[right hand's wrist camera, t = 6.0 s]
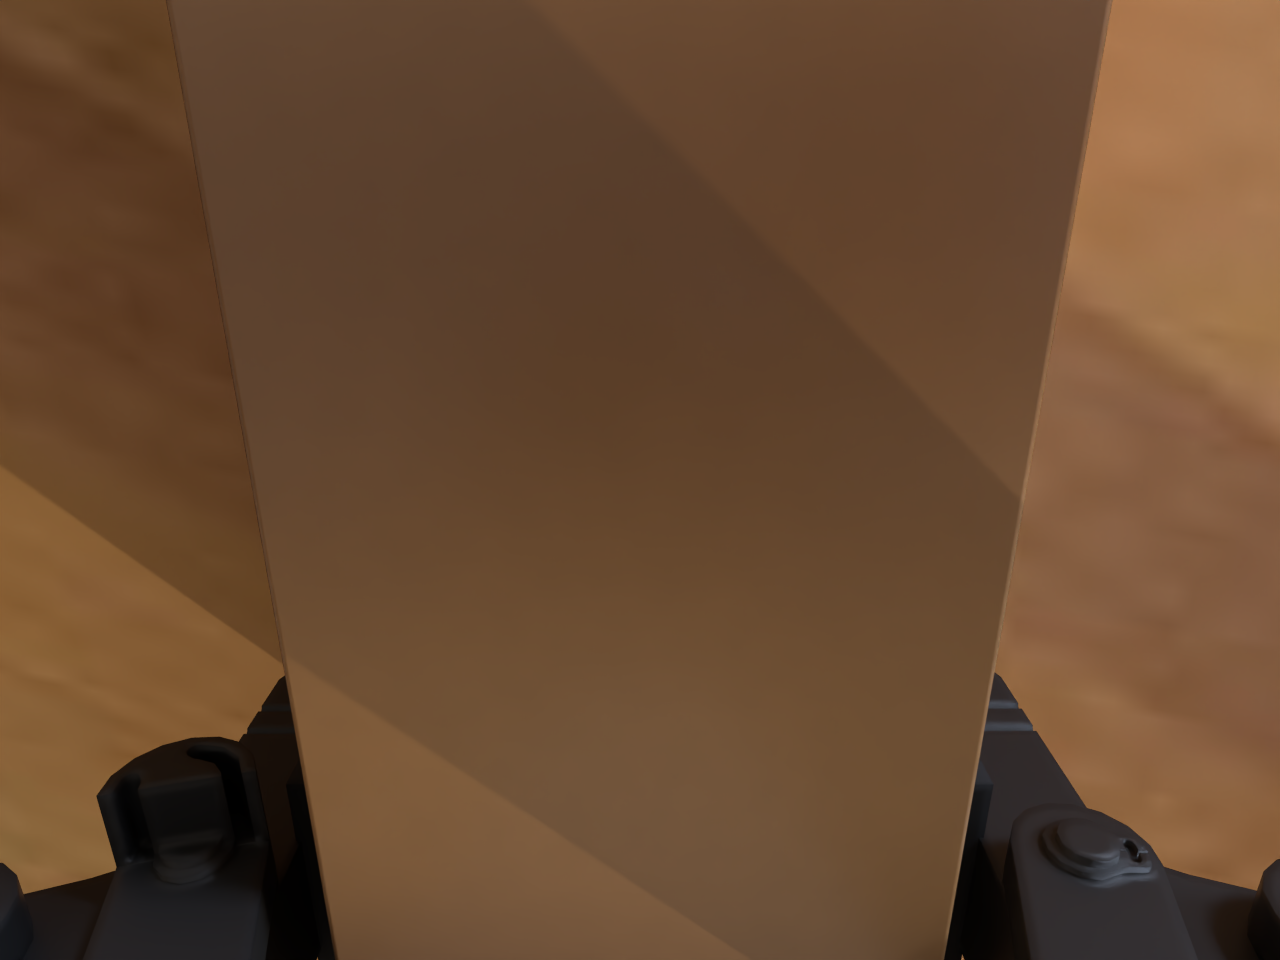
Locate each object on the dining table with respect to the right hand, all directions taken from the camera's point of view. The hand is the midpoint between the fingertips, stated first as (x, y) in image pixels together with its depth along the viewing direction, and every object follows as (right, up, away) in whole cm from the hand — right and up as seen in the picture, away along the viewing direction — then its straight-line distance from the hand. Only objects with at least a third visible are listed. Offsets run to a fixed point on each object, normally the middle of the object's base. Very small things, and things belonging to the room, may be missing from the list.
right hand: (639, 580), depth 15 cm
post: (0, +19, -7) cm, 21 cm away
